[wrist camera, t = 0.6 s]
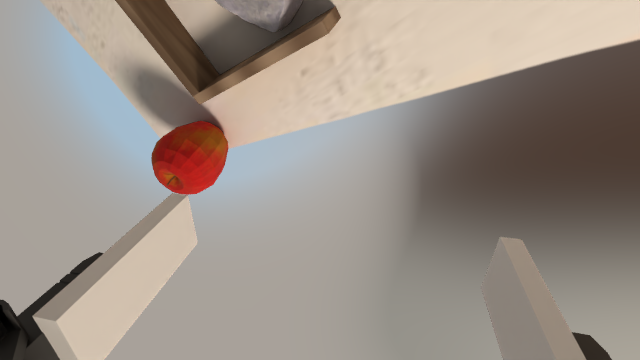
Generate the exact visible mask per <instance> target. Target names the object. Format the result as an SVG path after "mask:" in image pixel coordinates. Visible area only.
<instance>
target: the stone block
mask: <svg viewBox="0 0 640 360" xmlns="http://www.w3.org/2000/svg"><path fill="white" fill-rule="evenodd" d="M215 1H216V2H217V3H218V4H219V5H220V6H222V7H223V8H225V9H226V10H228V11H229V12H231V13H233V14H235V15H238V16H239V17H240V18H242V19H243V20H245V21H247V22H249V23H251V24H256V25H258V27H261V28H264V29H266V30H268V31H271V32H277V31H279V30H282V29H283V28H284V27H286V26H287V25H288V24H289V23H290V22H291V21H292V19H293V18H294V16H295V14H296V12H297V11H298V10H299V8H300V6H301V4H302V0H215Z"/></svg>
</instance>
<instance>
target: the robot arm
mask: <svg viewBox="0 0 640 360" xmlns="http://www.w3.org/2000/svg"><path fill="white" fill-rule="evenodd" d="M197 243H198V242H197V238H196V232H195V228H194V223H193V218H192V213H191V208H190V203H189V199H188V195H182V194H175V193H172V194H171V195H170V196H168V198H166V199H165V200H164V201H163V202H162V203H161V204H159V206H157V207H156V208H155V209H154V210H153V211H151V212H150V213H149V214H148V215H147V216H146V217H145V218H143V219H142V220H141V221H140V222H139V223H138V224H137V225H135V226H134V227H133V228H132V229H131V230H130V231H129V232H127V233H126V234H125V235H124V236H123V237H122V238H121V239H120V240H118V241H117V242H116V243H115V244H114V245H113V246H112V247H110V248H109V249H108V250H107V251H106V252H105V253H97V254H95V255H93V256H92V257H90V258H88V259H86V260H84V261H82V262H81V263H80V264H79V265H78V266H77V267H75V268H74V269H73V270H72V271H71V272H70V274H67V275H66V276H65V277H64V278H62V279H61V280H60V282H59V283H56V284H55V285H54V286H53V287H52V288H51V289H49V290H48V291H47V292H46V293H45V294H43V295H42V296H41V297H40V298H39V299H37V300H36V301H35V302H34V303H33V304H31V305H30V306H29V307H28V308H27V309H26V310H24V312H22V313H21V314H20V315H19V316H16V315H15V313H14V312H13V310H12V308H11V307H10V305H9V304H8V303H7V302H6V301H4V300H0V360H104V359H105V358H106V357H107V356H108V354H109V353H110V352H111V351H112V349H113V348H114V347H115V346H116V344H117V343H118V342H119V341H120V339H121V338H122V337H123V336H124V334H125V333H126V332H127V331H128V329H129V328H130V327H131V326H132V324H133V323H134V322H135V321H136V319H137V318H138V317H139V316H140V314H141V313H142V312H143V311H144V309H145V308H146V307H147V306H148V304H149V303H150V302H151V301H152V299H153V298H154V297H155V296H156V294H157V293H158V292H159V291H160V289H161V288H162V287H163V286H164V284H165V283H166V282H167V281H168V279H169V278H170V277H171V276H172V274H173V273H174V272H175V271H176V269H177V268H178V267H179V265H180V264H181V263H182V262H183V261H184V259H185V258H186V257H187V256H188V254H189V253H190V252H191V251H192V249H193V248H194V247H195V246H196V244H197ZM481 289H482V292H483V295H484V299H485V302H486V305H487V309H488V312H489V315H490V318H491V322H492V325H493V328H494V331H495V334H496V338H497V341H498V344H499V347H500V351H501V354H502V357H503V360H612V359H611V358H610V356H609V355H608V353H607V352H606V351H605V350H604V349H603V348H602V347H601V346H600V345H599V344H598V343H597V342H596V341H595V340H594V339H593V338H592V337H591V336H590V335H585V334H579V333H573V332H571V330H570V329H569V327H568V325H567V323H566V321H565V319H564V317H563V316H562V314H561V312H560V310H559V309H558V306H557V305H556V303H555V301H554V299H553V297H552V295H551V293H550V292H549V290H548V288H547V286H546V284H545V282H544V280H543V278H542V277H541V275H540V273H539V271H538V269H537V267H536V265H535V264H534V262H533V260H532V258H531V256H530V254H529V252H528V251H527V249H526V247H525V245H524V243H523V242H522V240H521V239H514V238H506V237H500V238H499V241H498V244H497V246H496V249H495V251H494V254H493V257H492V259H491V262H490V265H489V268H488V270H487V273H486V275H485V278H484V281H483V283H482V286H481Z"/></svg>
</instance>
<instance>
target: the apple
mask: <svg viewBox="0 0 640 360" xmlns="http://www.w3.org/2000/svg"><path fill="white" fill-rule="evenodd" d="M227 152H228V141H227V140H226V138H225V136H224V134H223V132H222V131H221V130H220V129H219V128H218V127H216V126H214V125H213V124H211V123H209V122H204V121H198V122H193V123H190V124H187V125H183V126H180V127H177V128H175V129H174V130H172V131H171V132H169V133H168V134H166V135H165V136H163V137H162V138H161V139H160V140H159V141H158V142H157V143H156V145H155V148H154V150H153V152H152V165H153V170H154V173H155V176H156V178H157V179H158V180H159V182H160V183H162V184H163V185H164V186H165V187H166V188H168V189H169V190H171V191H172V192H175V193H179V194H197V193H199V192H201V191H203V190H204V189H206V188H208V187H210V186H212V185H213V184H214V183H215V181H216V180H217V178H218V176H219V175H220V173H221V172H222V170H223V168H224V165H225V161H226V157H227Z"/></svg>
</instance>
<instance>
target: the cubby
mask: <svg viewBox="0 0 640 360" xmlns="http://www.w3.org/2000/svg"><path fill="white" fill-rule="evenodd" d="M115 1H116V2H117V3H118V4H119V6H120V7H121V8H122V9H123V11H124V12H125V13H126V14H127V16H128V17H129V18H130V19H131V21H132V22H133V23H134V24H135V25H136V27H137V28H138V29H139V30H140V32H141V33H142V34H143V35H144V37H145V38H146V39H147V40H148V42H149V43H150V44H151V45H152V47H153V48H154V49H155V50H156V51H157V53H158V54H159V55H160V56H161V58H162V59H163V60H164V61H165V63H166V64H167V65H168V66H169V68H170V69H171V70H172V71H173V73H174V74H175V75H176V76H177V77H178V79H179V80H180V81H181V82H182V84H183V85H184V86H185V87H186V89H187V90H188V91H189V92H190V94H191V95H192V96H193V97H194V99H195V100H196V101H197V102H198V103H199V105H200V104H202V103H203V102H205V101H207V100H209V99H211V98H213V97H214V96H216V95H218V94H220V93H222V92H223V91H225V90H227V89H229V88H231V87H232V86H234V85H236V84H238V83H240V82H242V81H243V80H245V79H247V78H249V77H251V76H252V75H254V74H256V73H258V72H260V71H261V70H263V69H265V68H267V67H269V66H271V65H272V64H274V63H276V62H278V61H280V60H281V59H283V58H285V57H287V56H289V55H290V54H292V53H294V52H296V51H298V50H300V49H301V48H303V47H305V46H307V45H309V44H310V43H312V42H314V41H316V40H318V39H319V38H321V37H323V36H325V35H327V34H328V33H329V32H330V31H331V30H332V28H333V27H334V26H335V25H336V23H337V22H338V21H339V19H340V18H341V17H340V15H339V13H338V11H337V8H336V6H335V7H333V8H332V9H330V10H328V11H327V12H325V13H323V14H322V15H320V16H318V17H317V18H315V19H313V20H312V21H310V22H308V23H307V24H305V25H303V26H302V27H300V28H298V29H297V30H295V31H293V32H292V33H290V34H288V35H286V36H285V37H283V38H281V39H280V40H278V41H276V42H275V43H273V44H271V45H270V46H268V47H266V48H265V49H263V50H261V51H260V52H258V53H256V54H255V55H253V56H251V57H250V58H248V59H246V60H245V61H243V62H241V63H240V64H238V65H236V66H235V67H233V68H231V69H230V70H228V71H226V72H224V73H223V74H221V75H219V74H218V72H217V71H216V70H215V68H214V67H213V66H212V64H211V63H210V62H209V60H208V59H207V58H206V56H205V55H204V53H203V52H202V51H201V49H200V48H199V47H198V45H197V44H196V43H195V41H194V40H193V38H192V37H191V36H190V34H189V33H188V32H187V30H186V29H185V28H184V26H183V25H182V24H181V22H180V21H179V19H178V18H177V17H176V15H175V14H174V13H173V11H172V10H171V9H170V7H169V6H168V4H167V3H166V2H165V0H115Z"/></svg>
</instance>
